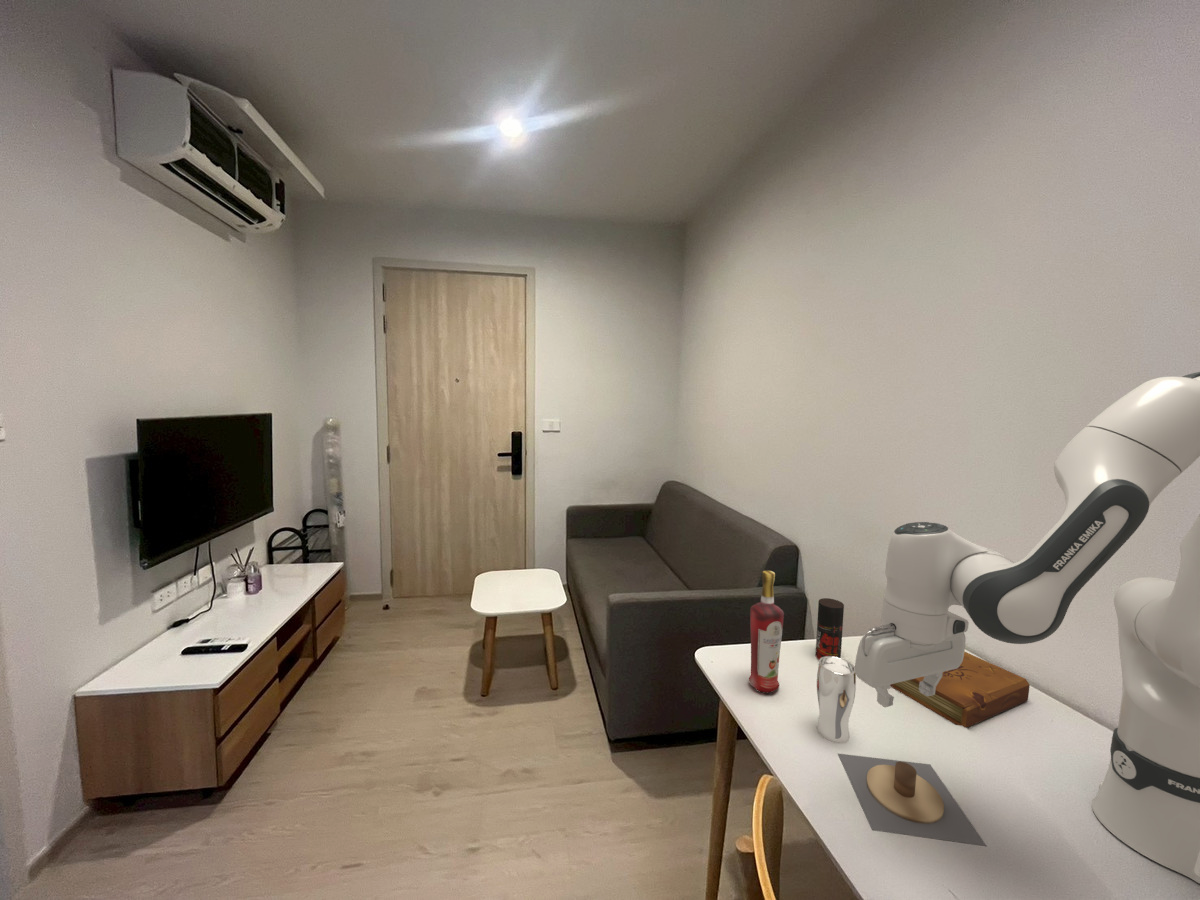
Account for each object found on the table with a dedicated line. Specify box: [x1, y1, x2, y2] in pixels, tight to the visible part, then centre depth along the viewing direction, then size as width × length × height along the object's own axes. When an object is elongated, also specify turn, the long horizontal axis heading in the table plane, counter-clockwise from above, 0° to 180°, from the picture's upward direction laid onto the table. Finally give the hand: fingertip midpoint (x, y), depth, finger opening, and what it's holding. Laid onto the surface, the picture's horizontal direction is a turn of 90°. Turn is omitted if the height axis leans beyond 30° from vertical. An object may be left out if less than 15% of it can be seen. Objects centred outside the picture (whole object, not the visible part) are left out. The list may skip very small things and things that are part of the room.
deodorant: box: [815, 597, 845, 661], centre depth 122 cm, size 6×6×15 cm
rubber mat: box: [837, 753, 987, 847], centre depth 79 cm, size 16×16×1 cm
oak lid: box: [867, 762, 944, 824], centre depth 79 cm, size 11×11×5 cm
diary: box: [890, 651, 1030, 729], centre depth 109 cm, size 23×19×6 cm
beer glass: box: [816, 656, 857, 744], centre depth 94 cm, size 7×7×15 cm
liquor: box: [748, 570, 785, 694], centre depth 108 cm, size 7×7×28 cm
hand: (906, 699), depth 78 cm, fingers open, 8 cm apart
